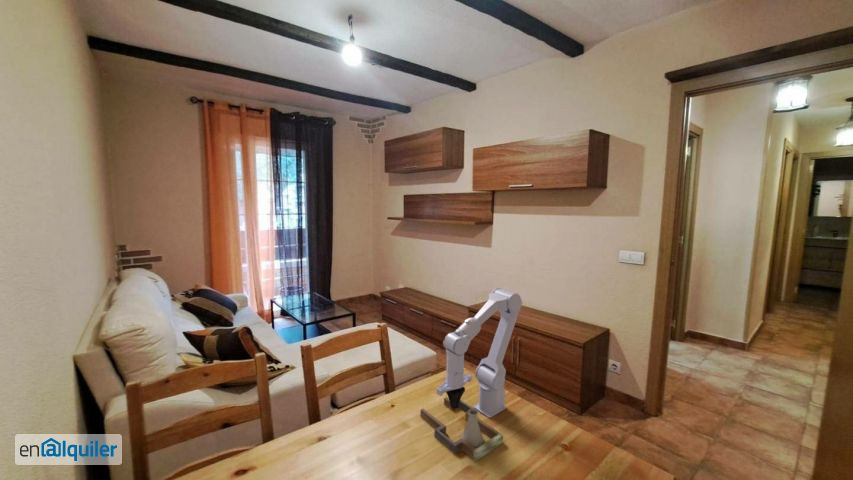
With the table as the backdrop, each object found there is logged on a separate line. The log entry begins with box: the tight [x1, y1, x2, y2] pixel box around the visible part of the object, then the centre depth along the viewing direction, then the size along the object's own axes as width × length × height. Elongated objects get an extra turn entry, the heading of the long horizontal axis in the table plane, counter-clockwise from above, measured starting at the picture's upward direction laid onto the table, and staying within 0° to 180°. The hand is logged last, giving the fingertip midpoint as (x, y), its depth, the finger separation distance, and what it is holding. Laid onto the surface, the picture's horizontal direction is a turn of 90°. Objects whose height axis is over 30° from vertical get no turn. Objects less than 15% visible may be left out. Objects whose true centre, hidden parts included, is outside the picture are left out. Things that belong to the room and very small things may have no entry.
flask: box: [460, 408, 484, 449], centre depth 108 cm, size 7×7×10 cm
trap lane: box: [420, 396, 504, 462], centre depth 114 cm, size 18×26×2 cm
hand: (454, 407), depth 115 cm, fingers closed
